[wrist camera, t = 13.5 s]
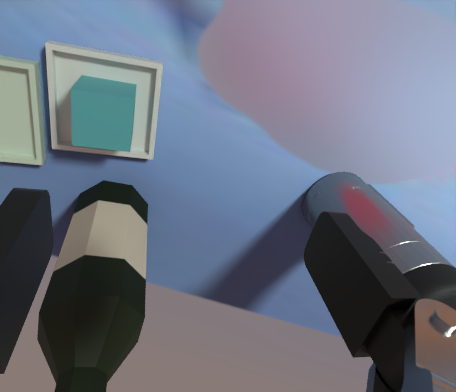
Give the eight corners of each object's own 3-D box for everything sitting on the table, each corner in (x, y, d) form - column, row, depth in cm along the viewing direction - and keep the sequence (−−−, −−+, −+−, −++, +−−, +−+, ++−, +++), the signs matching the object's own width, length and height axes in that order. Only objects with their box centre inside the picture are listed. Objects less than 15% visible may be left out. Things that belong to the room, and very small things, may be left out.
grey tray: (162, 61, 32) (163, 64, 31) (153, 154, 37) (153, 159, 36) (49, 40, 29) (45, 42, 28) (55, 143, 34) (52, 148, 33)
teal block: (136, 84, 32) (134, 99, 28) (133, 132, 35) (130, 152, 31) (81, 74, 31) (70, 88, 27) (81, 125, 33) (72, 145, 29)
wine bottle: (154, 230, 43) (155, 568, 18) (88, 241, 42) (-7, 615, 17) (140, 174, 38) (115, 527, 13) (65, 186, 37) (-109, 588, 12)
